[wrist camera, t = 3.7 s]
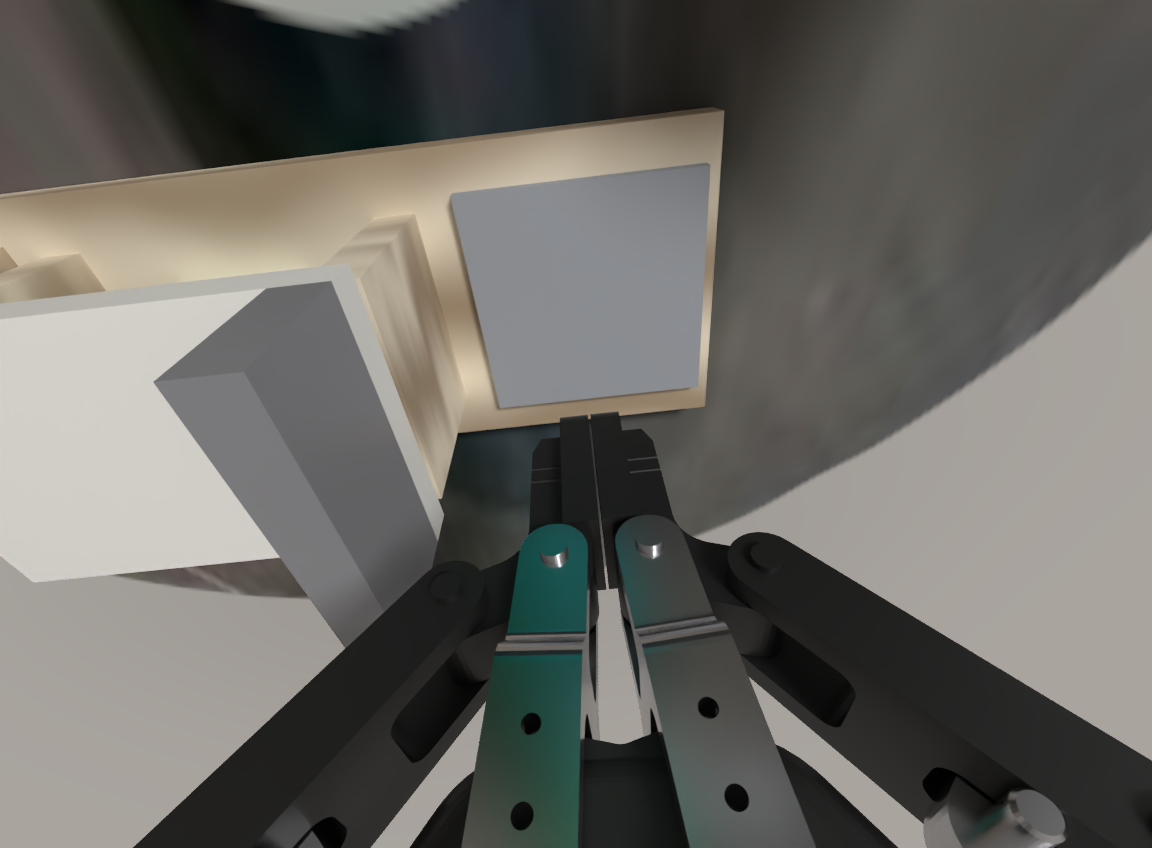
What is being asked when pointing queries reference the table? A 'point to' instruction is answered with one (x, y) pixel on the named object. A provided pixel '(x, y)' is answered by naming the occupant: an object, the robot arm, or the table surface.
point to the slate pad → (589, 282)
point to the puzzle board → (358, 247)
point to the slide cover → (213, 439)
